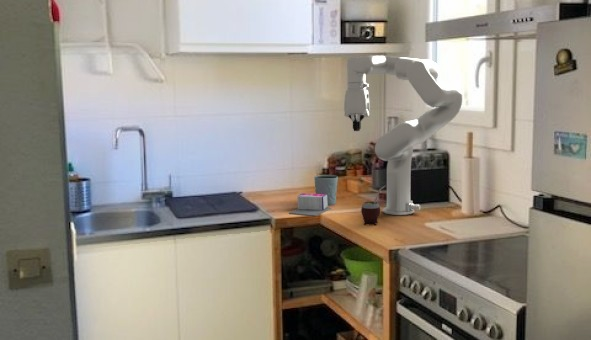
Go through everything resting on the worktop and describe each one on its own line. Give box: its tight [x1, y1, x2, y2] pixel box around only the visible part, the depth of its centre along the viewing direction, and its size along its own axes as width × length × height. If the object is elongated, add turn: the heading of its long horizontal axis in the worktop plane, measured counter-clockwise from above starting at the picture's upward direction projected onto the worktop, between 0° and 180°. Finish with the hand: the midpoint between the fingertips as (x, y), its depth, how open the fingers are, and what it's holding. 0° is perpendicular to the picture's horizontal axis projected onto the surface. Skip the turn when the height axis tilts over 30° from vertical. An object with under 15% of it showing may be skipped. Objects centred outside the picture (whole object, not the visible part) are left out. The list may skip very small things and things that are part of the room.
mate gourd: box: [360, 184, 387, 226], centre depth 244 cm, size 8×8×15 cm
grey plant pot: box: [313, 174, 339, 207], centre depth 281 cm, size 10×10×12 cm
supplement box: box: [297, 192, 329, 210], centre depth 271 cm, size 6×6×12 cm
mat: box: [288, 206, 332, 217], centre depth 268 cm, size 12×15×1 cm
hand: (356, 130), depth 272 cm, fingers closed
